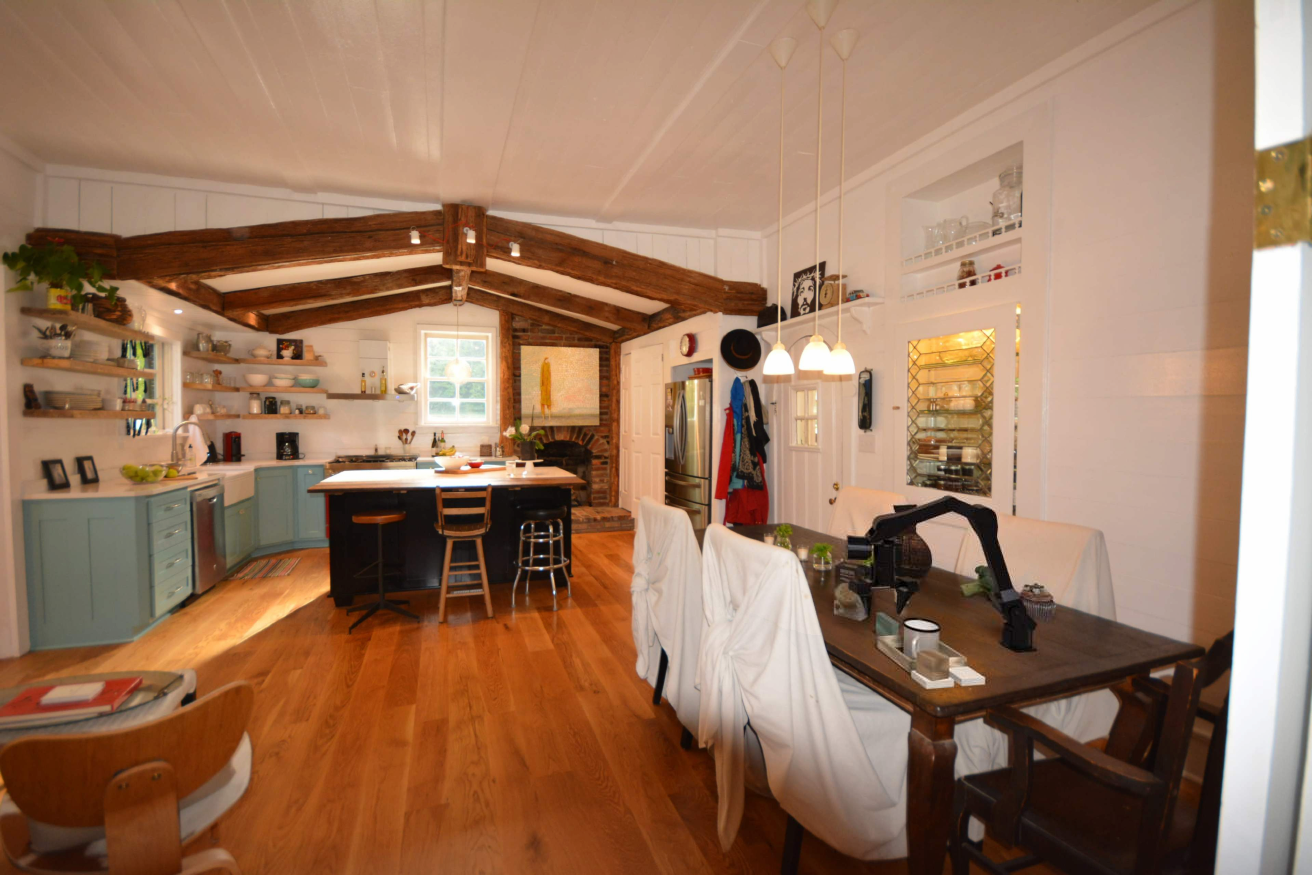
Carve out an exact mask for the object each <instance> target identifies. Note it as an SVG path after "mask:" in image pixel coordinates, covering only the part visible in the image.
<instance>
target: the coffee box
mask: <svg viewBox="0 0 1312 875" xmlns="http://www.w3.org/2000/svg"><path fill="white" fill-rule="evenodd" d="M857 565H862V564H859V563H855V562H851V561H846V560H841V561H840V562H838V563H836V564H834V586H833V587H834V592H833V593H834V594H833V596H834V598H833V600H834V601H833V615H837V616H840V617H842V618H848V619H849V620H850V619H851V620H854V621H859V622H861V621H863V620H865V619H866V618H867V617H868V616H867V615H866V613H865V610H864V607H863V604H862V601H861V599H860V597H859V596H858V595H857V594H856V593H854V592H853V591H851V590H849V589H848V583H849V581H850V580H853V579H863V580H864V581H866V582H868V583H870V580H868V579H864V578H863V576H858V575H857ZM865 566H866V567H870V565H865Z"/></svg>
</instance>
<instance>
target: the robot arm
mask: <svg viewBox="0 0 1312 875" xmlns="http://www.w3.org/2000/svg"><path fill="white" fill-rule="evenodd" d="M948 513H955V514H957V515H960V516H962V517H963V518H966V519H967V521H968V523H969V525H970V527H971V528H972V530H973V532H974V534H976V537H977V538H978V539H979V540H978V541H979V543H980V546H981V549H982V551H983V555H984V557H985V561H986V564H987V565H986V566H988V568H989V571H990V574H991V577H992V580H993V583H994V593H989V596H990V598H991V600H992V601H991V600H990V601H991V607H992V608H993V609H995V610H996V611H997V612H998V613H999V614H1000V615H1001V617H1002V619H1003V620H1005V622H1003V629H1002V638H1001V639H1002V640H998V643H999V644H1000V645H1003V646H1005V647H1006V648H1007V649H1010V650H1012V651H1013V652H1015V653H1019V652H1020V653H1021V652H1034V651H1035V652H1037V651H1038V649H1037V647H1035V646H1033V636H1034V635H1033V633H1034V631H1035V630H1036V629H1037V626H1038V623H1037V622H1036V620H1033V619H1032V618H1031V617H1030V616H1029V615H1028V614H1027V609H1026V607H1025V605H1024V603H1023V601H1022V599H1021V598H1020V596H1021V595H1019V593H1018V592H1017V590H1016V589H1015V586H1014V585H1013V583H1012V579H1011V576H1010V574H1009V573H1010V572H1009V570H1008V567H1007V564H1006V561H1005V558H1004V554H1003V551H1002V548H1001V545H1000V542H999V538H998V533H999V522H998V515H997V513H996V511H995V510H993V509H992V508H990V507H987V506H986V505H984V504H980V503H973V504H971V503H968V502H965V501H963V500H960V499H958V498H957V497H955V496H952V495H947V494H946V495H944V496H943V497H941V498H938V499H936V500H933V501H930V502H927V503H924V504H922V505H917V507H916V508H913V509H910V510H907V511H904V512H900V513H895V512H891V513H886V514H880V515H877V516H875V517H874V518H873V521H872V524H871V526H870V528H869V529H868V530H867V532H866V533H865V534H864V536H861V535H858V536H857V535H852V534H851V535H850V534H849V535H846V540H845V542H846V543H845V545H844V551H845V552H844V553H845V554H844V555H845V559H846V560H847V561H848V560H850V561H868V560H869V559H871V558H872V561H870V565H869V567H866V566H867V565H866V564H861V565H857V575H858V576H863V578H864V579H868V580H869V583H868V582H866V581H864V580H863V579H853V580H850V581H849V583H848V589H849V590H851V591H853V592H854V593H856V594H857V595H858V596H859V597H860V599H861V601H862V604H863V607H864V610H865V613H866V615H867V617H868V618H870V617H871V612H872V600H873V595H872V594H870V593H871V592H872V590H884V589H886V590H888V589H894V590H895V594H896V605H895V608H896V609H895V610H896V614H897V615H898V616H901V613H903V610H904V608H905V606H906V605H907V603H908V602H909V601H910V599H911V597H913V595H915V594H916V592H917V593H918V592H920V583H918V582H917V581H916V580H914V579H912V578H910V577H897V578H896V579H895V570H897V566H895V546H897V547H902V546H903V544H902V543H901V542H900V541H899V540H898V538H897V537H896V535H898V534H900V533H902V532H903V531H904V530H905V529H907V528H908V527H910V526H912V525H915V524H917V525H918V524H920V523H923V522H925V521H929V520H931V519H934V518H937V517H940V516H943V515H946V514H948ZM891 538H892V539H891ZM870 581H871V582H870ZM990 598H989V599H990Z"/></svg>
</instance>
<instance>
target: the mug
mask: <svg viewBox="0 0 1312 875" xmlns="http://www.w3.org/2000/svg"><path fill="white" fill-rule="evenodd" d="M901 625H902V626H903V635H904V647H903V654H904V655H906V656H907V657H908V658H910V659H911V660H916V652H919V651H925V650H931V649H934V650H936V651H938V652H939V641H940V631H942V625H941V624H940V622H937V621H935V620H932V619H929V618H925V617H915V616H914V617H905V618H903V619H902V620H901Z"/></svg>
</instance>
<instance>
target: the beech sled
mask: <svg viewBox="0 0 1312 875" xmlns="http://www.w3.org/2000/svg"><path fill="white" fill-rule="evenodd" d="M875 614H876V615H875V616H876V617H875V635H876V641H875V642H876V645H875V646H876V649H878V650H879V651H880V652H881V653H883V654H884V655H886V656H887V657H888V658H889V659H891V660H892V661H893V662H895V664H897V665H899V667H901V668H902V669H904V670H905V671H906V672H908V673H909V674H910V675H911V671H914V670H916V660H911V659H910V658H908V657H907V656H906V655H904V654H903V653H904V652H903V653H902V651H900V650H899V649H898V648H904V634H899V626H900V624H899V622H898V621H897V620H895V619H893V618H892V617H890V616H888V615H887V614H886V613H884V612H883V611H882V612H876V613H875ZM939 652H940V653H942V654H944V655H946V656H948V657H949V668H954V667H968V658H967V657H966V656H965V655H963V654H962V653H960V652H958V651H957V650H956V649H953V648H952V647H950V646H949V645H947V644H946V643H944V642H942V641H941V640H939Z"/></svg>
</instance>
